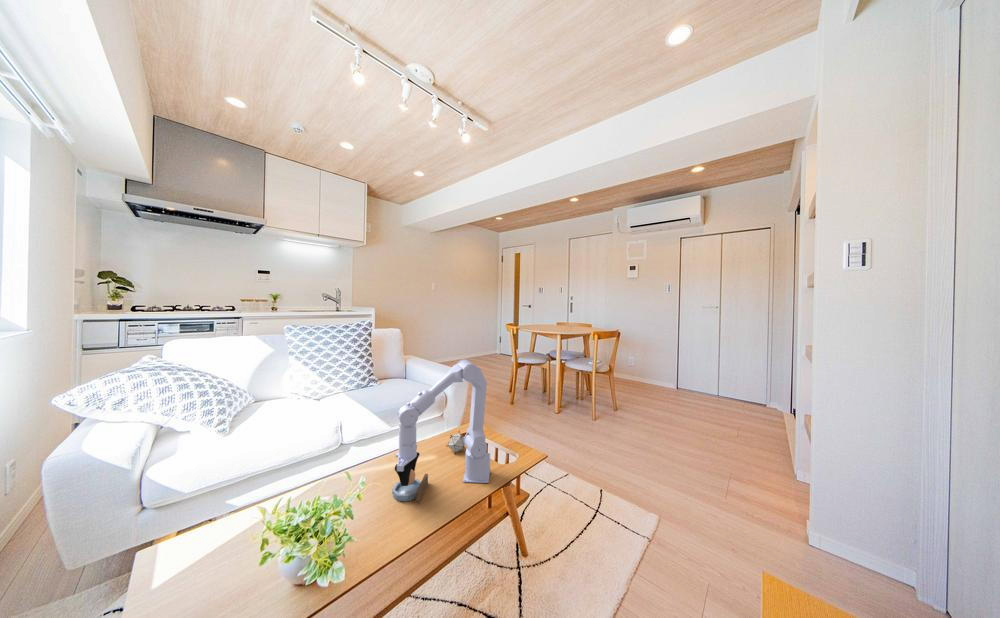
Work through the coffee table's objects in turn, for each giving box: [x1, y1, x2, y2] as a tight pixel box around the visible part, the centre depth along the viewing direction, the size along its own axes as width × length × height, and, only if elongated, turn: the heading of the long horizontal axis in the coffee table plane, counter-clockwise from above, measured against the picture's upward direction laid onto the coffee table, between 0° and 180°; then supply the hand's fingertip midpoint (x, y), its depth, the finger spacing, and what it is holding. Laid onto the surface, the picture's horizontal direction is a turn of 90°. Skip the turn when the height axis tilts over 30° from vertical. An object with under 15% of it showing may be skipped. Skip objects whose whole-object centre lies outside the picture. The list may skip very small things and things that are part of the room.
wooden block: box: [415, 473, 429, 505], centre depth 105 cm, size 1×11×4 cm, turn 178°
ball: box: [408, 469, 416, 485], centre depth 105 cm, size 5×5×5 cm
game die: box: [445, 430, 466, 455], centre depth 133 cm, size 9×8×10 cm
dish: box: [391, 478, 421, 503], centre depth 105 cm, size 9×9×2 cm
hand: (407, 480), depth 105 cm, fingers closed on ball, 5 cm apart
